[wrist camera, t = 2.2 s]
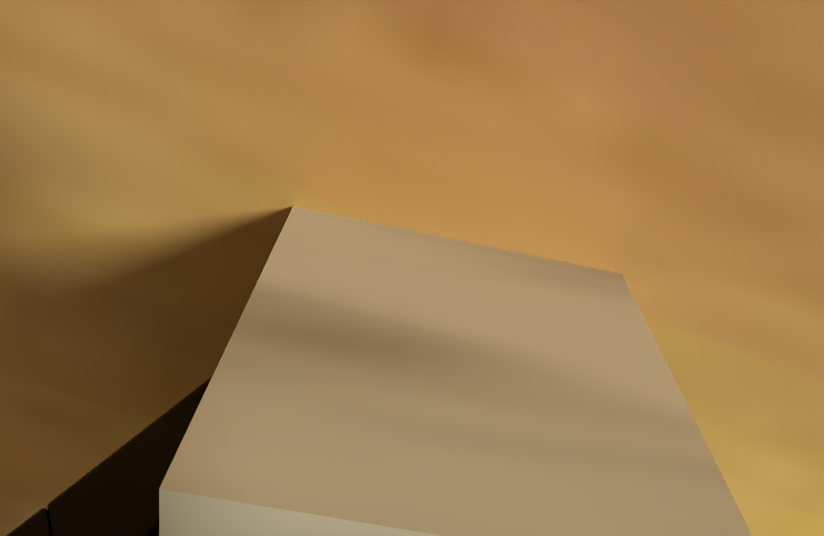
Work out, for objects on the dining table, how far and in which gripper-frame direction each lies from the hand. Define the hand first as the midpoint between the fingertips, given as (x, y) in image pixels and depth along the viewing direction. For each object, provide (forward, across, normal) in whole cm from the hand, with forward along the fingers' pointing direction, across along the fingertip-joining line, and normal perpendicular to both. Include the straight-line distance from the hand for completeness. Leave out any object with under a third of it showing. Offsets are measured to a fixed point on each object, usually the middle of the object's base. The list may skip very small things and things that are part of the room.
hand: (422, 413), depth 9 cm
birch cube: (+1, 0, 0) cm, 1 cm away
